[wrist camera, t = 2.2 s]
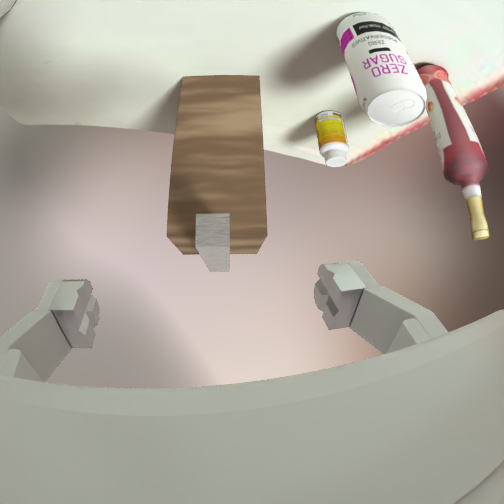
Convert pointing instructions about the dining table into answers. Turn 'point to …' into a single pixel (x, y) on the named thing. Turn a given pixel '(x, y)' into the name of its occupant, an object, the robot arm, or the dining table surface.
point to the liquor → (456, 143)
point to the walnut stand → (218, 161)
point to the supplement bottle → (332, 138)
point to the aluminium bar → (214, 240)
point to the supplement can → (381, 70)
